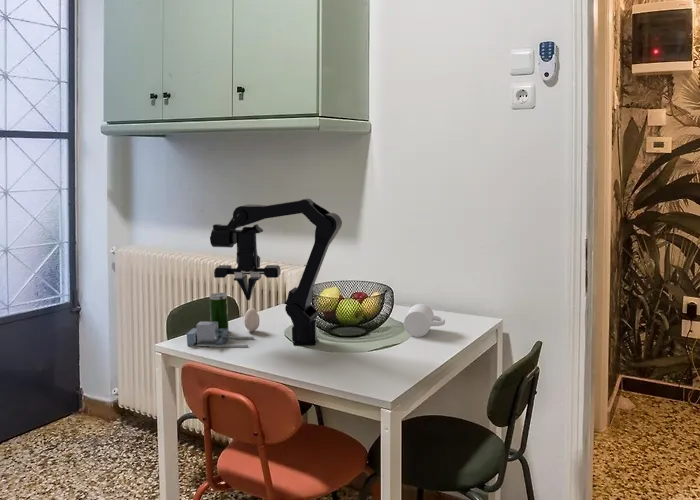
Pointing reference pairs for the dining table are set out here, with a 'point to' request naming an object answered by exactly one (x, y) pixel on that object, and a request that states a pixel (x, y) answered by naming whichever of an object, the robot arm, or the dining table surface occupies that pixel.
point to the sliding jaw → (221, 336)
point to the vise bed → (193, 340)
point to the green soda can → (219, 309)
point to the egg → (251, 320)
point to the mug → (421, 320)
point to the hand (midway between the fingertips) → (248, 299)
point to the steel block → (206, 332)
